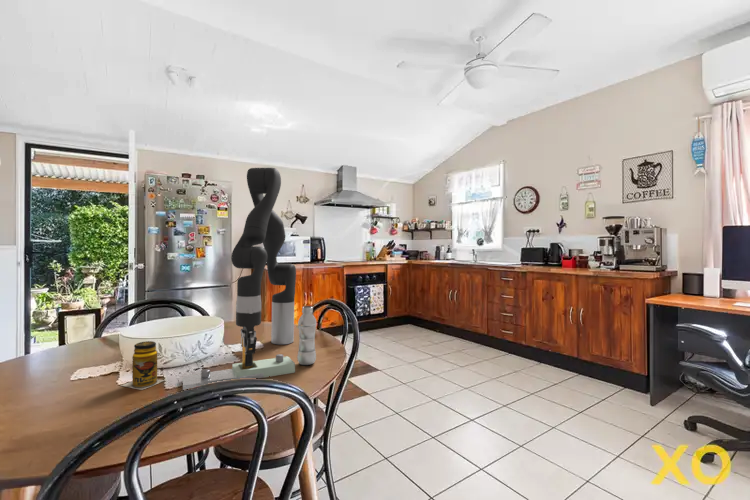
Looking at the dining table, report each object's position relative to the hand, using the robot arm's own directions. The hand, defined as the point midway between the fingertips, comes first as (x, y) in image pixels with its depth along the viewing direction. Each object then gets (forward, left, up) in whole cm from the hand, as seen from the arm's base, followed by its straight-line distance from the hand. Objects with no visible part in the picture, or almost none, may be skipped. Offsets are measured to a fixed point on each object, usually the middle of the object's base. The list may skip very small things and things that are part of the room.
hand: (247, 363), depth 111 cm
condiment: (-7, -28, -4) cm, 29 cm away
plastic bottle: (-2, +20, -4) cm, 20 cm away
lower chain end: (0, -7, -4) cm, 8 cm away
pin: (0, 0, -2) cm, 2 cm away
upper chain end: (0, +5, -4) cm, 6 cm away
